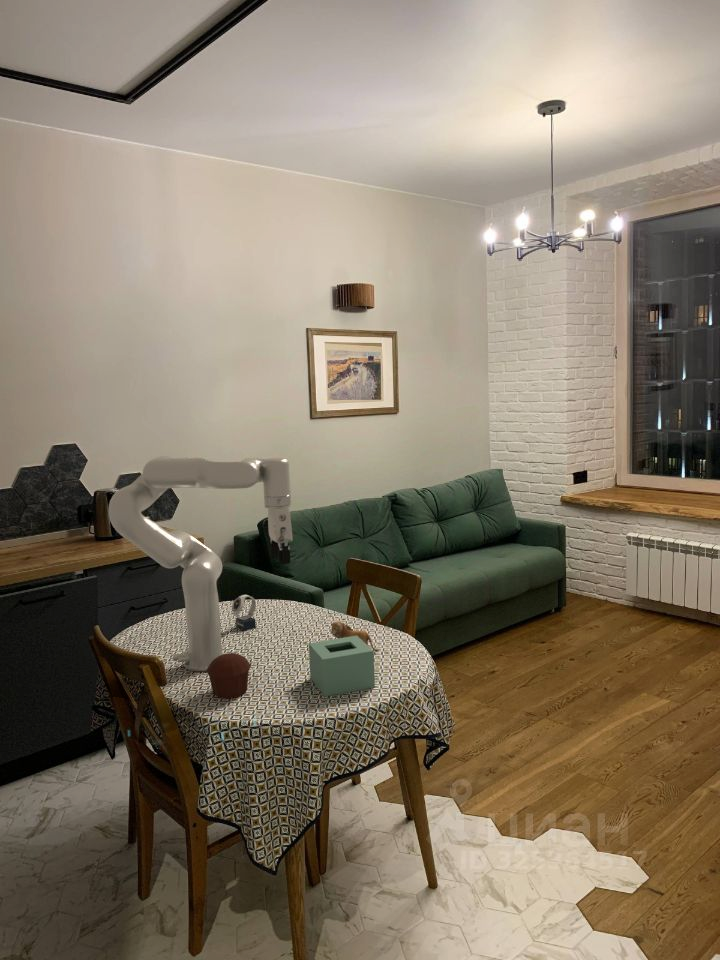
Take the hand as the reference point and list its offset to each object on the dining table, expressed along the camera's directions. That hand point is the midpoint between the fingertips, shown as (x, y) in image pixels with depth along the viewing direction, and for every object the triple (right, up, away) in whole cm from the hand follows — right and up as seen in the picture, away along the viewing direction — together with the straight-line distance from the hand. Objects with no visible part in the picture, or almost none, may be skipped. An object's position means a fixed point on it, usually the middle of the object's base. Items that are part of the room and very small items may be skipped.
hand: (280, 560), depth 208 cm
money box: (+18, -32, -13) cm, 39 cm away
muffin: (-12, -33, -16) cm, 39 cm away
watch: (-16, -27, +35) cm, 47 cm away
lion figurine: (+21, -29, +9) cm, 37 cm away
